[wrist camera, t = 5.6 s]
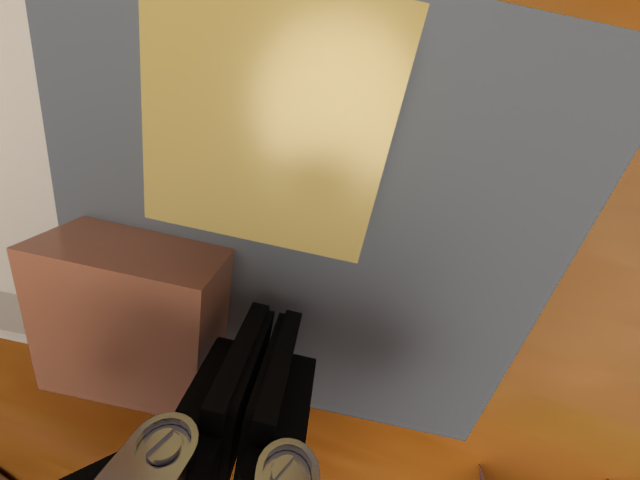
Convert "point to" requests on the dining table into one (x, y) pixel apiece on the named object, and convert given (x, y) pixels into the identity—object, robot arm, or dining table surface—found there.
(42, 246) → the salmon pink block
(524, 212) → the slate board
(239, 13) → the tile mustard
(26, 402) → the dining table surface
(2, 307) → the tray
